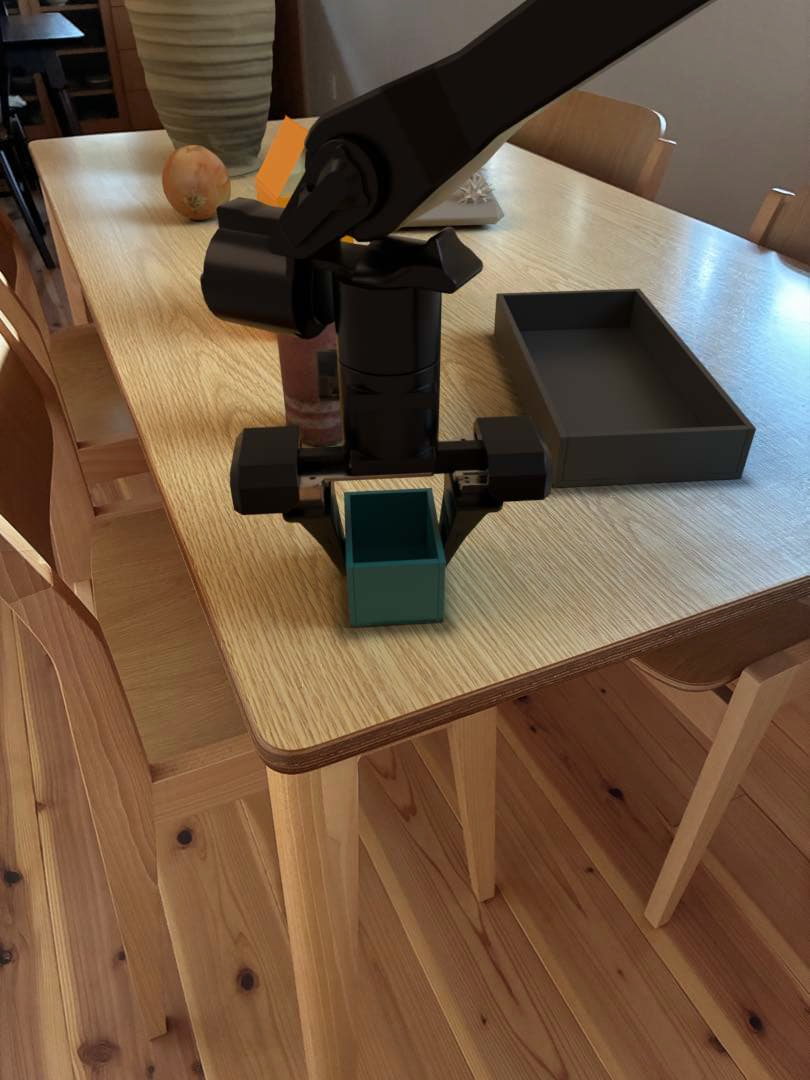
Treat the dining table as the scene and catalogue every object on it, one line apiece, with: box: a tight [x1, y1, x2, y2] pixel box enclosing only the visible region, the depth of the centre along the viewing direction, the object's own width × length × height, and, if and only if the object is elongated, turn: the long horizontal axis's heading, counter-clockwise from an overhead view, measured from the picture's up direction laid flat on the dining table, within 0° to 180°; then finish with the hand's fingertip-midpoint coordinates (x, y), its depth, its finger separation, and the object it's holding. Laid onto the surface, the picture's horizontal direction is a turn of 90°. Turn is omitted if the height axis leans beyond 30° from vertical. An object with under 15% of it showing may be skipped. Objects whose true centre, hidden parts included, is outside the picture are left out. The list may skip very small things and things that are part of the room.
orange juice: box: [254, 114, 355, 243], centre depth 83 cm, size 8×9×20 cm
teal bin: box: [343, 487, 446, 628], centre depth 53 cm, size 6×8×5 cm
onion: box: [161, 145, 232, 221], centre depth 117 cm, size 10×10×10 cm
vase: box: [123, 0, 276, 178], centre depth 134 cm, size 25×24×30 cm
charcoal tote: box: [493, 288, 757, 488], centre depth 74 cm, size 15×29×5 cm, turn 4°
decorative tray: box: [402, 167, 505, 228], centre depth 124 cm, size 35×26×10 cm
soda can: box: [276, 321, 342, 447], centre depth 66 cm, size 6×6×14 cm
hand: (393, 570), depth 54 cm, fingers closed on teal bin, 6 cm apart
